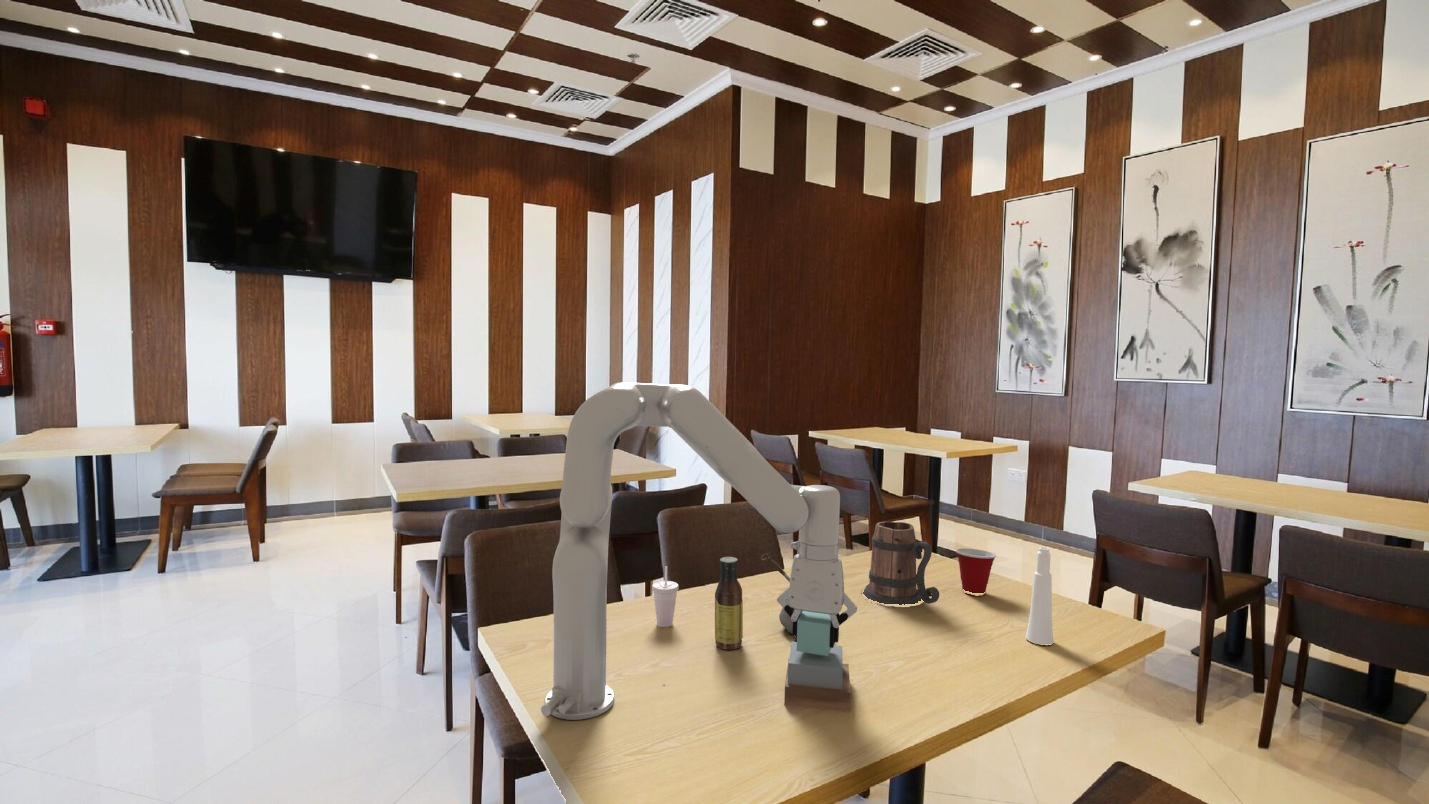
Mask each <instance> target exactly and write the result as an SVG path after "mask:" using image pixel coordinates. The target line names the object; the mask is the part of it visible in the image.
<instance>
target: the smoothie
mask: <svg viewBox="0 0 1429 804" xmlns="http://www.w3.org/2000/svg"><path fill="white" fill-rule="evenodd" d="M651 587H652V588H651V590H652V591H653V598H654V599H653V600H654V607H655V615H656V616H655V617H656V618H655V619H656V625H657V627H660V628H668V627H669V626H670V627H671V626H673V622H674V616H675V615H674V614H675V609H676V607H675V606H676V602H677V601H676V600H677V595H678V594H677V593H678V591H679V589H680V588H679V584H678V583H677V582H676V581H671V580H668V566H667V565H666V566H664V580H659V581H656V582H654V583H653V584H652V586H651Z"/></svg>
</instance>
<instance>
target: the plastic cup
mask: <svg viewBox="0 0 1429 804" xmlns="http://www.w3.org/2000/svg"><path fill="white" fill-rule="evenodd" d="M955 553H956V555H957V561H958V565H959V573H960V574H959V575H960V581H961V586H962V587H961V588H962V590H963V589H964V590H965V591H969V592H972V593H984V592H985V593H986V591H987V586H988V584H989V580H990V575H991V570H992V566H993V563H994V560H995V559H996V557H997V554H996V553H995V552H991V551H988V550H984V549H983V550H982V549H978V548H965V547H963V548H961V547H960V548H955Z"/></svg>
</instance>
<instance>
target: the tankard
mask: <svg viewBox="0 0 1429 804" xmlns="http://www.w3.org/2000/svg"><path fill="white" fill-rule="evenodd" d="M871 545H872V548H871V559H870V569H869V571H868V573H869V574H868V580H869V582H868V584H867V585H866V586H865V587H864V589H863V590H864V592H863V594H864V595H865V596H866V597H867V598H868V599H871V600H873V601H877V602H879V603H884V604H899V605H902V604H904V605H905V604H915V603H918V601H921V599H922V600H923V601H924V604H933V603H936V602H938V600H939V599H940V591H939V589H938V588H937V587H936V586H931V587H927V588H926V584H925V573H926V568H927V567H928V566H927V565H928V564H929V562H930V560H931V558H932V553H933V552H932V551H933V550H932V546H931V545H930V543H928V541H918V540H917V539H916V533H915V527H914V525H912V524H911V523H908V522H903V521H902V522H901V521H898V522H897V521H879V522H877V523H876V524H875V528H874V532H873V535H872V537H871ZM922 553H923V554H922ZM917 560H920V563H919V565H918V567H917Z"/></svg>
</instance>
